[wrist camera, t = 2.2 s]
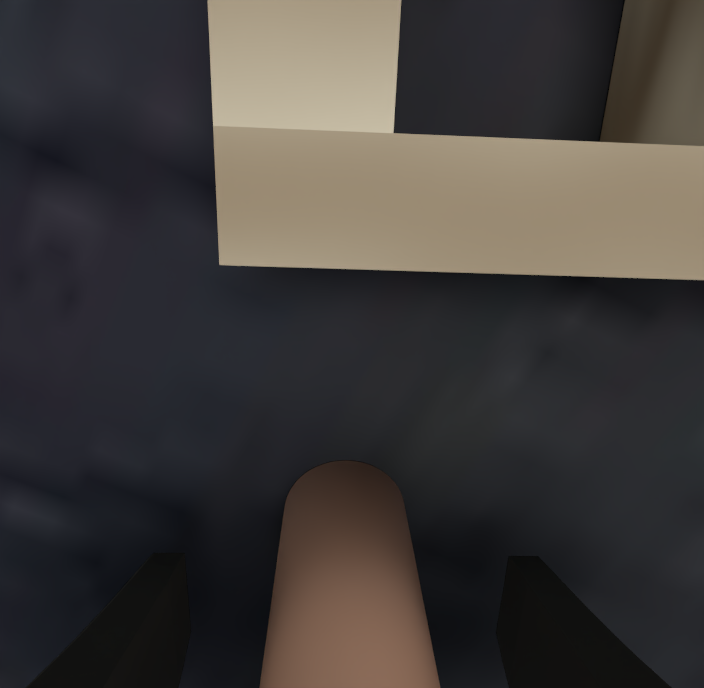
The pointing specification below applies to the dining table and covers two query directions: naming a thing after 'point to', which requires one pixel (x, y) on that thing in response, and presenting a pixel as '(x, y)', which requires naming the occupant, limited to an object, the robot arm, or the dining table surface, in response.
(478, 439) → the dining table surface
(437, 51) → the dining table surface
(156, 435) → the dining table surface
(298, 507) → the peg
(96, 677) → the robot arm
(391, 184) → the hole block
